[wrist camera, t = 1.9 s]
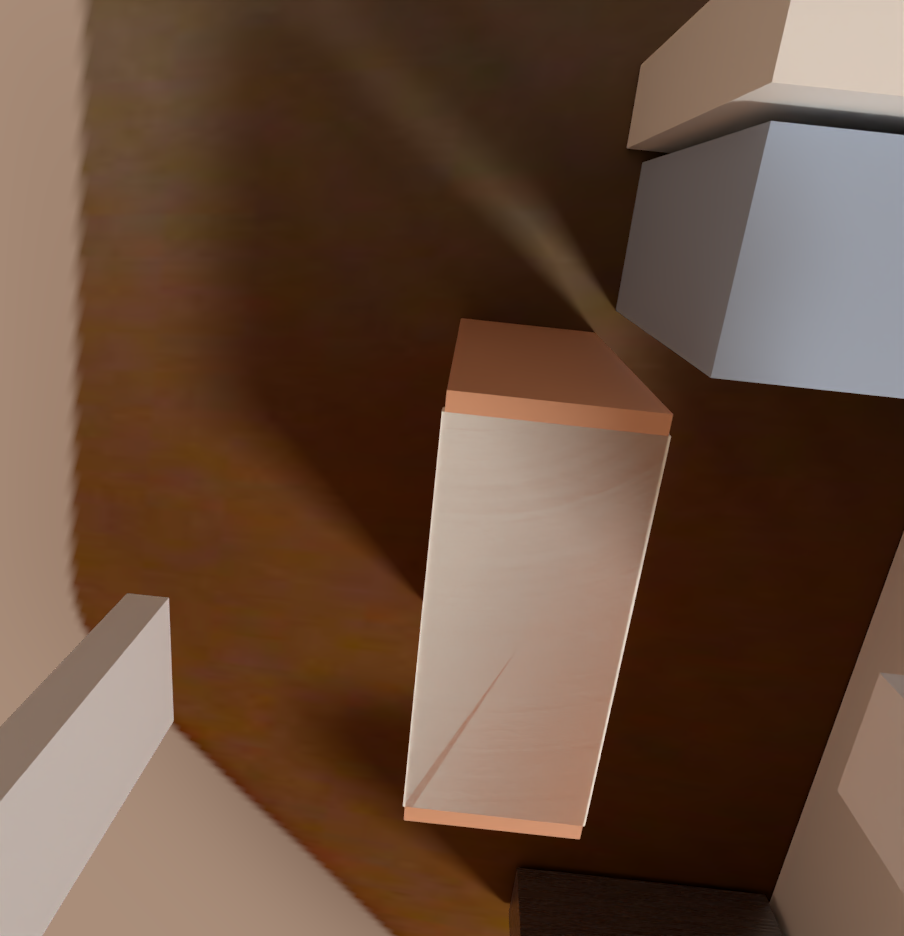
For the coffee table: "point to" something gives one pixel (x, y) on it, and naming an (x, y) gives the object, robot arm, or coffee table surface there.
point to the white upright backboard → (900, 604)
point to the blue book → (775, 257)
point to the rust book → (529, 576)
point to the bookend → (631, 908)
